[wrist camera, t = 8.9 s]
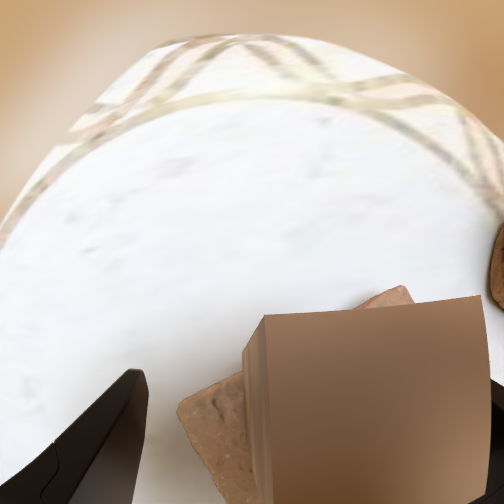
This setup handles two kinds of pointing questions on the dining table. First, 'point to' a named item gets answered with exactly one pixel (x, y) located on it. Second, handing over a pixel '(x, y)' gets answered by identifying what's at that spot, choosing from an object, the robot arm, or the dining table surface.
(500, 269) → the block
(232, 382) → the brick
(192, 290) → the dining table surface
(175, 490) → the dining table surface
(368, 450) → the walnut block
